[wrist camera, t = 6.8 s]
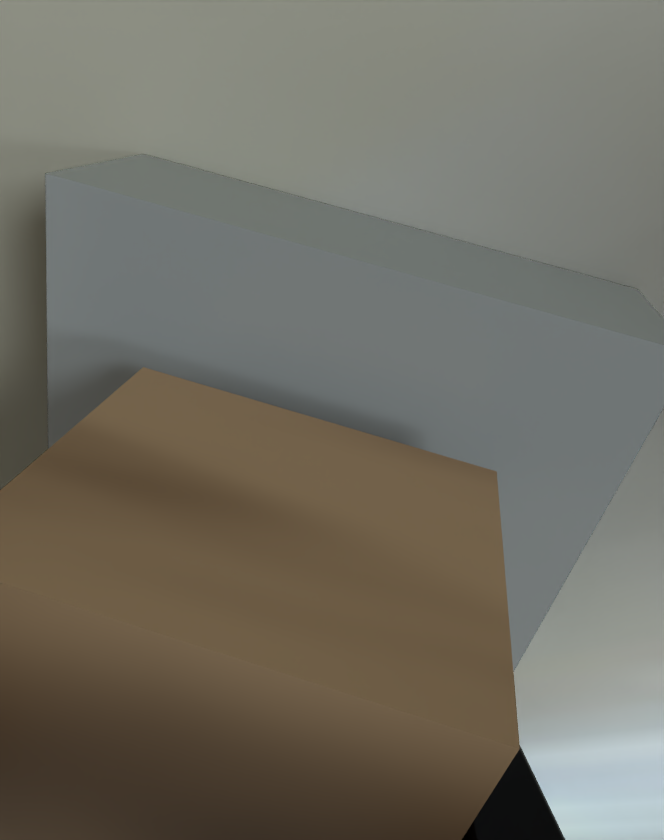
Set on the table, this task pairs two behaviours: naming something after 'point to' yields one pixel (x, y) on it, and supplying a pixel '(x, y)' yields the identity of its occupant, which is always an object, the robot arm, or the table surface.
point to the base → (359, 340)
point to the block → (248, 629)
